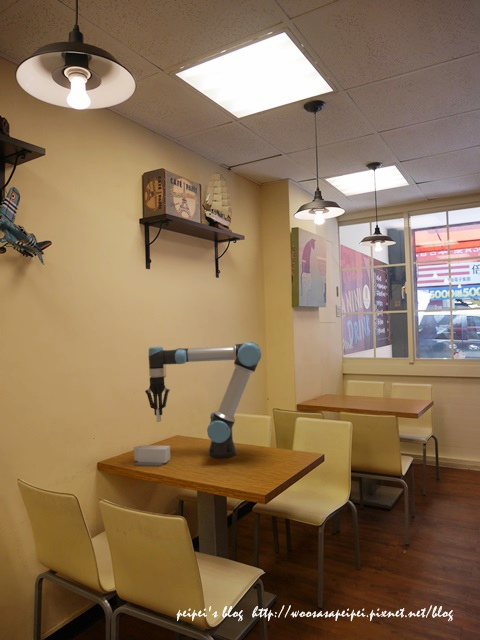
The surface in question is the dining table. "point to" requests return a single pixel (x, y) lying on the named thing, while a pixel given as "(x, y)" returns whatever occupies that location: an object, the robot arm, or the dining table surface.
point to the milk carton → (152, 454)
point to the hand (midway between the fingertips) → (158, 421)
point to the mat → (147, 464)
